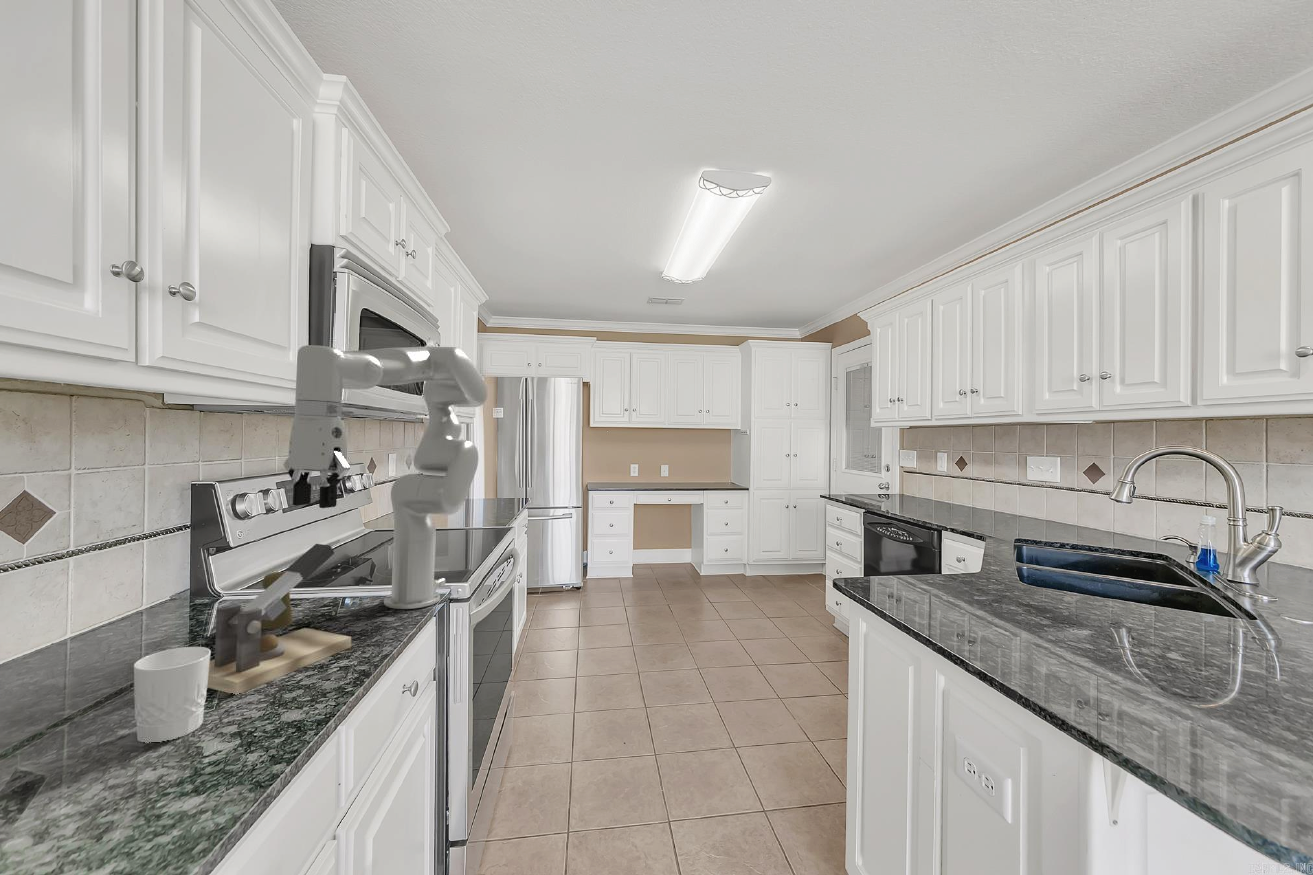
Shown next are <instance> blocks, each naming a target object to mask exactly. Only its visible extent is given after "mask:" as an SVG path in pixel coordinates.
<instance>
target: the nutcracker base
mask: <svg viewBox="0 0 1313 875" xmlns="http://www.w3.org/2000/svg"><path fill="white" fill-rule="evenodd" d="M241 610H242V605H241V604H237V603H235V604H231V605H229V606H224V607H219V608H216V618H215V619H216V621H215V622H216V623H215V640H214V641H215V646H214V659H212V660H211V659H210V665H209V676H208V686H207V689H212V690H216V691H218V692H219V691H220V692H224V693H228V694H231V693H233V694H232V695H234V694H235V696H238V695H240V694H239V693H241V694H242V693H245V692H248V691H249V690H251V689H252V690H253V689H255V688H257V687H259V686H262V685H264V684H266V683H270V682H271V681H274V680H276V679H278V678H280V677H283V676H285V675H288V674H290V673H293V672H295V671H297V670H300V669H302V668H304V667H307V666H309V665H312V664H315V663H317V662H319V661H321V660H324V659H326V658H328V657H331V656H334V655H335V654H338V653H340V652H343V651H345V650H347V649H350V648H351V647H352V636H348V635H344V634H338V633H334V632H329V631H324V630H319V629H318V630H317V629H314V628H313V629H312V628H307V627H304V628H301V629H297V630H295V631H293V632H292V631H291V632H289V633H286V634H283V635H281V636H276V635H274V634H272V633H271V634H265V635H263V636H262V629H261V620H262V609H259V608H255V609H252V610H248V611H245V612H241V613H239V612H240V611H241ZM236 614H238V628H237V629H234V628H232V627H231V626H230V625H229V624H228V621H229V620H230V619H232V618H233V617H234V616H235V615H236ZM237 694H238V695H237Z"/></svg>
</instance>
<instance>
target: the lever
mask: <svg viewBox="0 0 1313 875" xmlns="http://www.w3.org/2000/svg"><path fill="white" fill-rule="evenodd" d="M334 554H335V552H334V550H333V548H332V546H331V545H329V544H322V543H315V544H314V545H313V546H311V548H309V549H308V550H307V551H305V553H303V554H302V555H301V556H300V557H299V558H297V559H296V560H295V561H294V562H293V563H292V564H290V565H289V566H288V567H287V568H285V569H286V571H284V572H285V573H284V574H283V575H282V576H281V577H280V578H278V579H277V580H276V581H275V582H274V583H273V584H271V585H270V586H269V587H268V588H267V589H266V590H265V589H264V590H263V591H262V592H261V593H260V594H259V595H258V596H256V597H255V598H254V599H253V600H252V601H250V602H249V603H248V604H246V606H244V607H243V608H241V611H240V612H239V613H241V612H245V611H248V610H252V609H255V608H259V609H262V619H265V620H270V621H273V620H274V619H275V618H276V617H277V616H278V615H279V614H280V613H281V612H283V611H284V610H285V609H286V608H287V607H286V606H285V605H284V603H283V602H282V600H281V598H282V597H283V596H284V595H286V594H287V593H288V592H289V593H290V591H292V589H294V587H296V586H297V585H298V584H299V583H300V582H301V581H302V580H306V579H308V578H309V577H310V576H311V575H312V574H313V573H314V572H316V571H317V570H318V569H319V568H320V567H321V566H322V565H324V563H326V562H327V561H328V559H330V558H331V557H332V556H334ZM228 624H229V625H230V626H231V627H232V628H234V629H237V628H238V614H236V615H235V616H234V617H233V618H232V619H230V620H229V621H228Z"/></svg>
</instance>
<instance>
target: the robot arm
mask: <svg viewBox="0 0 1313 875" xmlns="http://www.w3.org/2000/svg"><path fill="white" fill-rule="evenodd" d="M297 350H298V351H297V355H296V356H297V358H296V375H295V376H296V378H295V401H294V418H293V421H292V425H291V432H290V437H289V445H288V458H287V459H286V460H285V461H284V463H283V467H284V468H285V469H286V471H287V472H288V476H289V477H290V478H291V479H290V483H291V484H292V485H293V486H292V487H293V490H292V494H293V495H292V506H304V505H310V504H311V500H312V498H311V497H312V496H311V495H312V483H309V482H310V479H311V476H312V473H313V472H319V474H320V475H319V476H320V479H321V483H322V486H320V487H319V498H318V500H319V501H318V507H319V508H320V509H327V508H328V509H329V508H335V507H336V506H337V503H338V502H337V500H338V499H337V497H338V487H339V486H341V481H342V480H343V479H344V478H345V476H346V475H347V474H348V473H349V471H350V469H351V468H350V465H349V464H348V437H347V436H348V435H347V428H346V424H345V421H344V419H342V412H343V410H344V409H343V406H342V403H343V389H344V390H345V389H346V390H368V389H372V388H374V387H376V386H401V385H405V384H406V385H408V384H413V383H422V382H424V384H423V390H422V391H423V397H424V400H425V403H426V407H427V412H428V418H429V419H428V422H427V426H426V429H425V431H424V432H423V435H422V437H421V439H420V442H419V444H418V446H417V448H416V450H415V453H414V456H413V466H414V469H416V470H417V471H418V472H419V473H409V474H404V475H402V476H400V477H398V478H397V479H396V480H395V481H394V482H393V484H392V486H391V488H390V500H391V506H392V507H391V508H392V512H393V546H392V547H393V550H392V551H393V552H392V571H391V572H392V574H391V575H392V576H391V594H388V595H386V597H385V598H384V599H383V605H384V606H385V607H387V608H390V609H396V610H412V609H420V608H425V607H429V606H433V605H435V604H437V603H438V602H439V601H440V600H441V599H440V598H441V594H440V593H439V592H437V591H436V590H437V589H438V588H440V587H442V586H445V584H446V583H447V582H446V578H443V577H442V578H439V579H435V561H436V560H435V559H436V542H437V541H436V539H437V537H436V536H437V534H436V533H437V530H436V526H435V522H434V521H433V518H432V516H431V515H442V516H449V515H450V516H451V515H454V514H455V515H456V514H457V513H459V511H460V510H461V509H462V508H463V505H464V503H465V502H466V499H467V496H468V494H469V491H470V489H471V485H472V483H473V480H474V478H475V475H476V472H477V469H478V466H479V451H478V448H477V446H476V445H475V444H474V443H473V442H472V441H470V440H467V439H460V436H461V434H462V428H463V427H462V424H461V421H460V419H459V418H458V416H457V414H456V413H455V411H454V409H453V408H454V407H455V408H478V407H481V406H482V405H484V403H485V402H486V400H487V399H488V387H487V386H488V385H487V383H486V381H485V379H484V377H483V376H482V375H481V373H480V371H479V370H478V369H477V367H476V366H475V364H474V362H472V360H471V359H470V358H469V357H468V355H467V354H465V352H464V351H463V350H461V349H460V348H458V347H454V346H411V347H409V346H408V347H385V348H374V349H364V350H340V349H338V348H335V347H331V346H324V345H314V344H312V345H309V344H307V345H302V346H300V348H299V349H297ZM329 475H330V476H329Z"/></svg>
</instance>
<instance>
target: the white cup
mask: <svg viewBox="0 0 1313 875" xmlns="http://www.w3.org/2000/svg"><path fill="white" fill-rule="evenodd" d="M211 653H212V651H211V649H209V648H208V647H203V646H185V647H177V648H173V649H172V648H170V649H165V650H162V651H158V652H154V653H151V654H149V655H146V656H144V657H142V658H140V659H138V660H137V661H135V662H134V664H133V700H134V719H135V721H136V739H137V742H141V743H143V742H145V743H144V744H152V743H151V742H160V743H163V742H162V741H165V742H168V741H167V740H169V741H173V739H174V740H177V739H179V738H181V737H184V736H187V735H189V734H191V733H192V732H195V731H196V730H198V728H200V726H201V725H202V724H203V721H204V712H205V711H204V710H205V703H206V700H207V690H208V687H207V686H208V676H209V665H210V661H211V655H212V654H211ZM178 737H179V738H178ZM149 742H150V743H149Z"/></svg>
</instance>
